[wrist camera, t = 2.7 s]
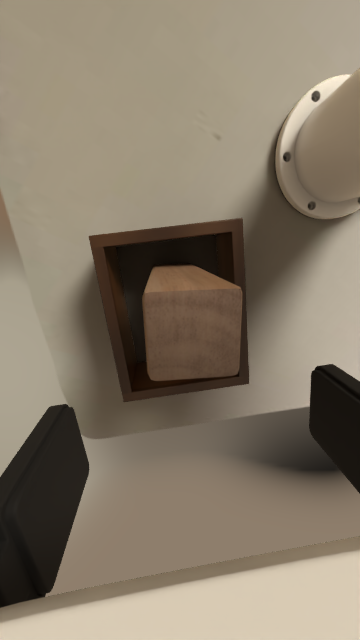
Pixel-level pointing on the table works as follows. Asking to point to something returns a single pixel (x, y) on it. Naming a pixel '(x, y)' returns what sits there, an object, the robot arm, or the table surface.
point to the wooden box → (114, 302)
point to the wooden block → (191, 323)
